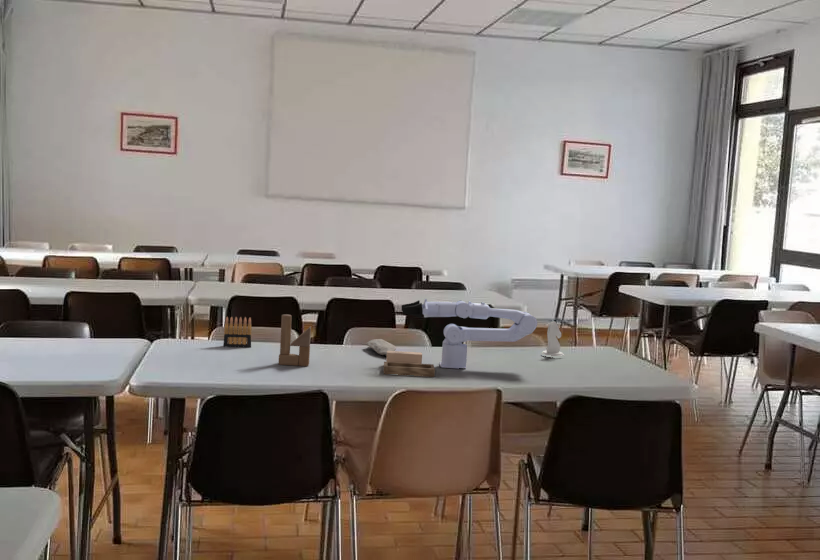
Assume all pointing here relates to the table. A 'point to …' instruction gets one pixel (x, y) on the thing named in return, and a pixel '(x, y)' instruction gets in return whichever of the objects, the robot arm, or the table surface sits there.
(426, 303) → the robot arm
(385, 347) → the stone tool
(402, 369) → the wooden tray
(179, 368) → the table surface
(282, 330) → the tan wooden block stack
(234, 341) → the ammunition clip
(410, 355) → the tan rectangular block
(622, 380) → the table surface
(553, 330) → the chess piece
